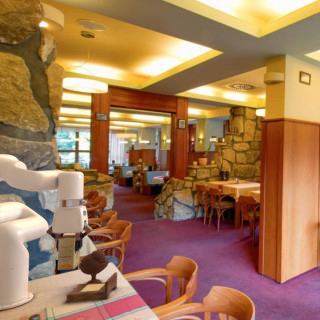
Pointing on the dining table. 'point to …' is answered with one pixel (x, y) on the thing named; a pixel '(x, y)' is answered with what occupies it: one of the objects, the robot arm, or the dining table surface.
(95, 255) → the ice cream bowl
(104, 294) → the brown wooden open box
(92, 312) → the dining table surface
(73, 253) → the shoe polish box
